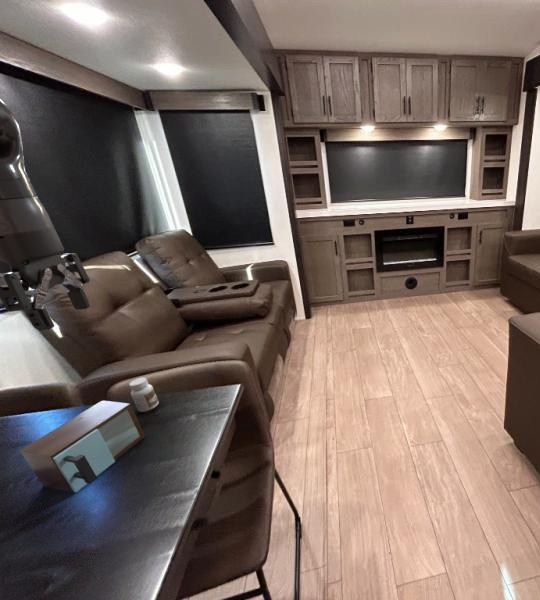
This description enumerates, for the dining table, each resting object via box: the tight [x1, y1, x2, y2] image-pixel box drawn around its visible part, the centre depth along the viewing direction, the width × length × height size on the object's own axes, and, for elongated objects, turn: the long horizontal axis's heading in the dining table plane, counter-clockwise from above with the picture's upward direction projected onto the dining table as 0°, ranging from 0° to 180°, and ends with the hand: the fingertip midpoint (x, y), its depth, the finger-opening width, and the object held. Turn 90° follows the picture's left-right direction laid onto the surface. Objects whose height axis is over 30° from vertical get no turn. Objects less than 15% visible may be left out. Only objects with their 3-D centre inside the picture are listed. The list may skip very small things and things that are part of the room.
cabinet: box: [19, 400, 146, 494], centre depth 64 cm, size 8×14×9 cm, turn 166°
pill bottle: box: [128, 377, 160, 413], centre depth 80 cm, size 4×4×8 cm
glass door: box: [53, 429, 116, 493], centre depth 60 cm, size 5×7×8 cm
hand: (65, 318), depth 58 cm, fingers open, 8 cm apart
